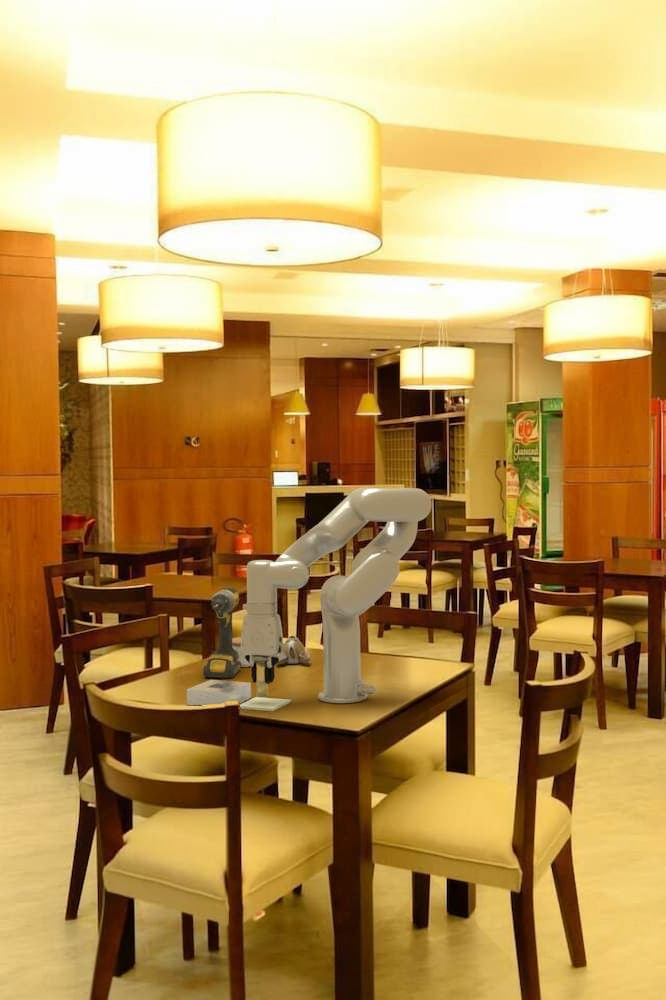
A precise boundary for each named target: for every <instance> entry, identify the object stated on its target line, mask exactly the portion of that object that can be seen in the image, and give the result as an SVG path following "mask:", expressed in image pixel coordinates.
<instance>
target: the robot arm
mask: <svg viewBox="0 0 666 1000" xmlns="http://www.w3.org/2000/svg"><path fill="white" fill-rule="evenodd" d="M431 510H432V500H431V497H430V496H429V494H428V493H427V492H426V491H424V490H423V489H421V488H415V487H414V488H413V487H400V488H385V487H382V488H381V487H366V486H365V487H358V488H356V489H355V490H353V491H351V492H350V493H349V494H348V495H347V496H346V497H345V498H344V499H343V500H342V501H341V502H339V504H338V505H337V506H336V507H335V508H334V509H333V510H331V512H329V513H328V515H326V516H325V517H324V518H323V519H322V520H320V521H319V523H318V524H316V525H314V526H313V527H312V528H311V529H310V530H308V531H307V532H305V534H303V535H301V536H300V537H299V538H298V539H297V540H295V542H293V543H292V544H291V545H290V546H289V547H288V548H286V549H285V551H283V552H282V553H281V554H280V555H279V557H277V559H276V560H275V561H274V560H270V559H269V560H268V559H258V560H257V559H255V560H251V561H249V562H248V563H247V564H246V603H243V604H242V609H243V610H246V614H244V615H243V619H242V624H241V633H240V634H241V635H240V637H241V649H240V651H239V655H241V656H242V657H244V658H245V659H246V660H247V661H248V663H249V665H250V668H251V679H252V683H255V684H256V662H255V661H252V655H257V656H269V661H267V668H265V683H266V684H268V685H269V684H272V683H273V682H274V680H275V666H277V664H279V663H278V662H279V661H280V660H282V659H284V658H286V657H287V654H286V652H285V650H284V648H283V643H284V637H283V636H284V635H283V627H282V620H281V616H280V614H278V589H286V590H298V589H301V588H303V587H304V586H305V585H306V584H307V583H308V581H309V579H310V571H309V567H310V566H312V564H314V563H315V562H317V561H318V560H319V559H321V558H322V557H324V556H326V555H328V554H330V553H333V552H336V551H337V550H340V549H341V548H343V547H344V546H345V545H346V544H347V543H349V541H350V540H351V539H352V538H353V537H354V536H355V535H356V534H358V533H359V531H360V530H361V529H362V528H364V527H365V526H366V524H368V523H369V522H380V523H381V522H383V523H385V522H386V524H385V526H384V527H383V529H382V530H380V532H379V533H378V534H377V536H375V537H374V538H373V539H372V540H371V541H370V542H369V543H368V544H367V545H366V546H365V547H364V548H362V550H361V551H359V552H358V553H357V555H355V557H354V558H353V560H352V565H351V566H352V569H351V570H352V573H350V574H349V575H348V576H346V575H339V574H338V575H333V576H331V577H330V578H328V579H326V581H325V582H323V585H322V586H321V589H320V594H319V595H320V597H319V599H320V600H319V601H320V609H321V616H322V633H323V635H322V636H323V638H322V641H323V645H322V646H323V647H322V648H323V688H324V690H322V691H320V692H319V693H318V697H317V698H318V700H320V701H321V702H324V703H331V704H351V703H358V702H362V701H365V700H367V698H368V695H375V694H376V691H377V689H376V686H375V685H373V684H371V685H368V684H367V685H366V682H365V679H362V673H361V672H362V671H361V669H362V668H361V625H360V616H361V615H363V614H364V613H365V612H366V611H367V610H369V609H370V608H371V607H372V606H373V605H374V604H375V603H376V601H378V600H379V599H380V598H381V597H382V596H383V595H384V594H385V593H386V592H387V591H388V590H389V589H391V587H392V586H393V584H394V583H395V582H396V581H397V578H398V577H399V574H400V563H399V561H400V560H401V559H402V557H403V556H405V554H406V553H407V552H408V551H409V550H410V548H411V547H412V546H413V544H414V543H415V540H416V537H417V535H418V524H419V522H420V521H423V520H424V519H425V518H427V517H428V515H430V512H431ZM278 653H279V655H278V656H277V657H276V655H277V654H278Z"/></svg>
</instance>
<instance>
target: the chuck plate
mask: <svg viewBox="0 0 666 1000" xmlns="http://www.w3.org/2000/svg"><path fill="white" fill-rule="evenodd" d="M249 698H250V699H252V683H251V682H247V681H246V682H245V681H233V680H222V679H221V680H219V679H209V680H206V681H204V682H201V683H198V684H196V685H194V686H191V687H189V688H187V689H186V705H187V706H193V705H206V704H221V703H224V702H225V701H228V700H238V701H239V702H240V703H239V704H242V703H245V702H246V701H249V700H250V699H249ZM245 700H246V701H245Z"/></svg>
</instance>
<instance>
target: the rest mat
mask: <svg viewBox="0 0 666 1000" xmlns="http://www.w3.org/2000/svg"><path fill="white" fill-rule="evenodd" d="M291 703H292V700H291V699H284V698H283V699H282V698H272V697H270V698H269V697H257V696H255V697H253V698H250V699H248V700H246V701H244V702H242V703H239V705H240V707H241V709H242V710H252V711H253V710H254V711H264V712H265V711H267V712H275V711H277V710H278V709H281V708H283V707H285V706H286V705H288V704H291Z"/></svg>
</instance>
